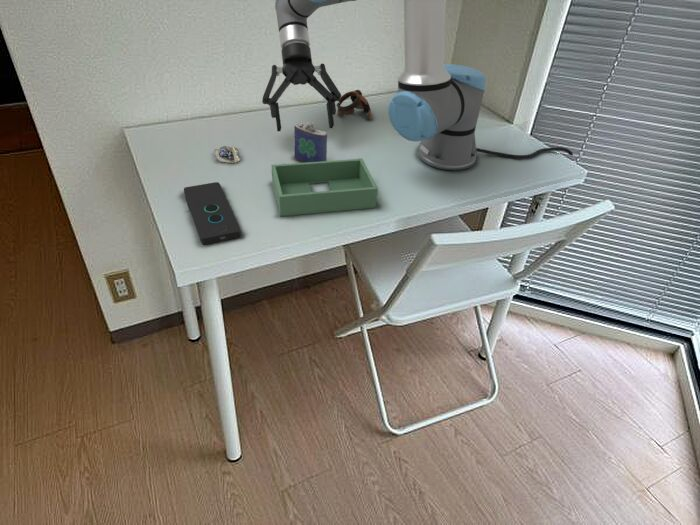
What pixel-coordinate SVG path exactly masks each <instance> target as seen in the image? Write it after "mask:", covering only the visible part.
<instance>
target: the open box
mask: <svg viewBox="0 0 700 525" xmlns="http://www.w3.org/2000/svg"><path fill="white" fill-rule="evenodd" d="M372 176H373V175H371V173H370V171H369V169H368V167H367V165H366V164H365V161H364V159H363V158H352V159H351V158H350V159H335V160H327V161H321V162H306V163H302V162H293V163H281V164H271V185H272V189H273V192H274V196H275V201H276V205H277V209H278V213H279V216H280V217H287V216H298V215H309V214H320V213H331V212H343V211H351V210H354V211H355V210H364V209H365V210H366V209H373V208H377V202H378V191H379V188H378V186H377V184H376V182H375V180H374V178H373V177H372ZM314 184H315V185H316V184H328V187H329V189H330V190H322V191H312V188H311V185H314Z"/></svg>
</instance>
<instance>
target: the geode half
mask: <svg viewBox="0 0 700 525" xmlns="http://www.w3.org/2000/svg"><path fill="white" fill-rule="evenodd" d="M213 151H214V152H213V153H214V155H215V159H217V161H218V162H221V163H228V164H229V163H230V164H237V163H238V162H240V160H241V158H240V156H239V153H238V152H239V150H238V149H237V148H236V147H234V146H230V147H229V146H226V145H224V146H221V147H219V148H214V150H213Z"/></svg>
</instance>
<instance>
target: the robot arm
mask: <svg viewBox="0 0 700 525" xmlns="http://www.w3.org/2000/svg"><path fill="white" fill-rule="evenodd" d="M355 1H357V0H274V9H275V13H276V22H277V27H278V34H279V42H280V49H281V59H282V66H277V65H276V64H273V65H272V66H271V72H270V73H271V74H270V77H269V80H268V82H267V85H266V88H265V90H264V92H263V96H262V99H261V103H262V104H263V105H268V106H269V108H270V117H271V118H272V119H275V124H276V132H281V131H282V123H281V115H280V107H279V102H278V101H279V99H280V98H281V96H283V94H284V92H285V91H286V90H287V88H288V87H289V86H290V84H292V85H294V86H297V85H306V84H308V85H309V86H310V87H312V88H313V89H314V90H315V91H316V92H317V93H318V94H320V96H321V97H322V98H323V99H324V100H326V101H327V102H326V104H325V106H326V112H327V120H328V128H329V129H333V128H334V126H335V122H334V120H335V119H334V116H335V115H336V113H337V105H336V102H339V99H340V97H341V96H342V94H341V92H340V90H339V89H338V87H337V85H336V84H335V82H334V81H333V79H332V78H331V76H330V75H329V74H328V71H327V68H326V65H325V64H324V63H320V64H319V65H316V66H315V65H314V64H313V59H312V51H311V47H310V46H311V42H310V35H309V28H308V18H309V17H310V16H312V15H313V14H314V12H316V11H317V10H318V9H319V8H322V7H327V6H333V5H338V4H342V3H346V2H347V3H348V2H355ZM446 17H447V0H403V26H404V27H403V33H404V36H403V37H404V69H403V72H401V74H400V75H399V76H398V77H397V92H396V93H395V94H394V95H393V96H392V98H391V99H390V101H389V103H388V108H387V110H388V111H387V112H388V119H389V121H390V123H391V125H392V127H393V129H394V130H396V132H397V134H398V135H399V136H400V137H402V138H403V139H405V140H407V141H410V142H419V145H418V148H417V156H418V159H420V160H421V161H422V162H423V163H424V164H426V165H428V166H429V167H432V168H435V169H439V170H443V171H462V170H466V169H469V168H471V167H473V166H474V165H475V163H476V160H477V155H478V154H477V153H482V154H487V155H492V156H499V157H505V158H509V159H530V158H533V157H535V156H537V155H538V154H541V153H544V152H554V151H555V152H556V151H560V152H561V151H563V152H565V153H567V155H569V156H574V153H573V152H572V151H571V150H570V149H568V148H567V147H564V146H563V147H560V146H556V147H555V146H554V147H543V148H540V149H538V150H536V151H534V152H532V153H529V154H512V153H506V152H505V153H504V152H499V151H493V150H489V149H483V148H478V147H477V143H476V134H475V133H476V129H477V124H478V120H479V115H480V111H481V106H482V102H483V99H484V93H485V92H486V83H487V77H486V76H485V73H483V72H482V71H481V70H478V69H475V68H473V67H470V66H466V65H461V64H453V63H446V64H445V56H446V53H445V52H446V22H447V18H446ZM281 73H282V75H283V76H284V77H285V78H284V79H283V81H282V82H281V84H280V85H279V86H278V88H277V89H276V91H275V92H274V93H273V95H272V96H271V93H272V91H273V88H274V86H275V83H276V80H277V77H279V76H280V74H281ZM314 73H316V74H317V75H318V76H320V79H321V81H322V82H323V83H324V84H322V83H321V82H320V81H319V80H318V79H317V77H316V76H315V74H314ZM324 85H325V86H326V87H325V86H324ZM270 96H271V97H270Z"/></svg>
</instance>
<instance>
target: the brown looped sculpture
mask: <svg viewBox="0 0 700 525" xmlns="http://www.w3.org/2000/svg"><path fill="white" fill-rule="evenodd" d="M349 98H350V100H351V102H352V103H350V104H347V105H345V106H341V105H342V104H343V103H344V102H345V101H347V99H349ZM336 108H337V115H338V116H350V115H352V116H355V109H356V110H362V113H364V114H365V113H366V114H367V118H368V120H369V121H370V120H372V110H371V105H370V104H369V101H368V100H367V98H366V97H365V96H363V92H362V91H361V89H356V90H351V91H348V92H345V93H343V95H341V97H340V99H339V101H338V102H337V103H336Z"/></svg>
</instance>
